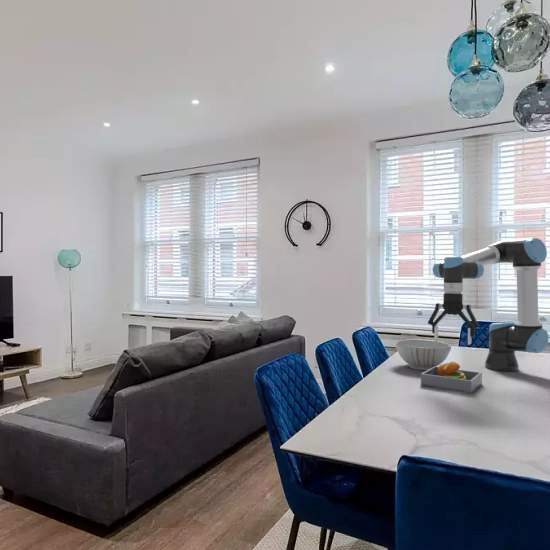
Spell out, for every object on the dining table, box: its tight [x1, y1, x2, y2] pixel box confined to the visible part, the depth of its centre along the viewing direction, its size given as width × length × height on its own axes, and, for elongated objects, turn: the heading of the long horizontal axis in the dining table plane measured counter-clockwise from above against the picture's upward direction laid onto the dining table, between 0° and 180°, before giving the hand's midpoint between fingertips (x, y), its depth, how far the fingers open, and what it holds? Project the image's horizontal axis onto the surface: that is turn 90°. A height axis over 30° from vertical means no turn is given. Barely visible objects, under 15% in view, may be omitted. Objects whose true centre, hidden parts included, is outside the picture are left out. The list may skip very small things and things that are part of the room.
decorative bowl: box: [395, 339, 452, 371], centre depth 222 cm, size 27×27×12 cm
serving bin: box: [420, 366, 483, 395], centre depth 188 cm, size 19×20×5 cm
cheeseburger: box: [437, 361, 466, 380], centre depth 188 cm, size 10×11×10 cm
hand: (452, 342), depth 188 cm, fingers open, 13 cm apart
